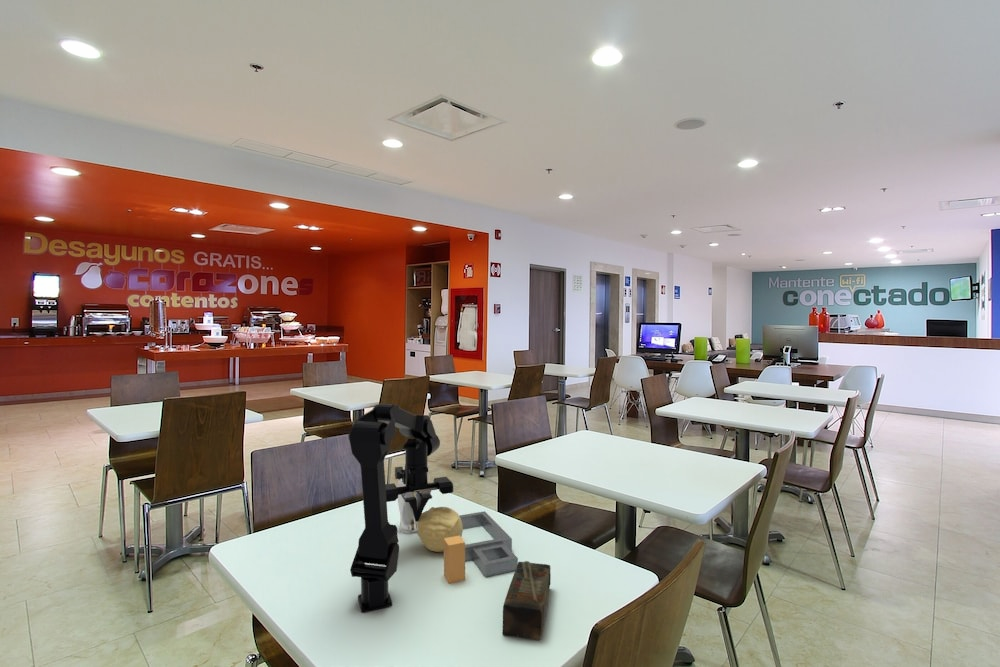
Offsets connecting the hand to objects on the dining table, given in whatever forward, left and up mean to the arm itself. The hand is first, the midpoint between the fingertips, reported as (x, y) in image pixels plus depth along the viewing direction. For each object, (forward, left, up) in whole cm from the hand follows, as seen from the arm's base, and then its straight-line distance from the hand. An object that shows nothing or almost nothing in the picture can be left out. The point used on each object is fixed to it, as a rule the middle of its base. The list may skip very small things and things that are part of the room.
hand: (416, 520), depth 132 cm
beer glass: (+14, -1, -8) cm, 17 cm away
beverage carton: (-35, -16, -9) cm, 40 cm away
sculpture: (0, -7, -8) cm, 11 cm away
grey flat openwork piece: (-5, -16, -8) cm, 19 cm away
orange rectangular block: (-17, -5, -8) cm, 19 cm away
